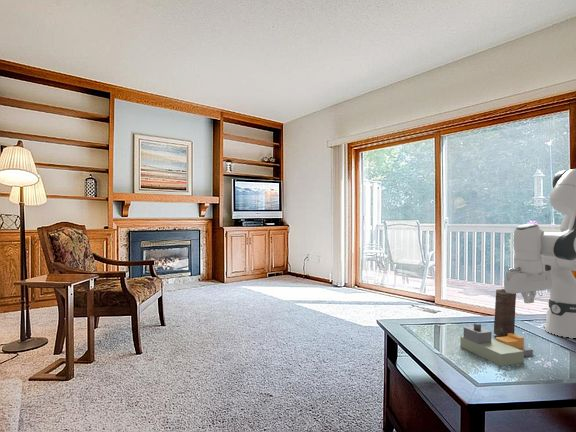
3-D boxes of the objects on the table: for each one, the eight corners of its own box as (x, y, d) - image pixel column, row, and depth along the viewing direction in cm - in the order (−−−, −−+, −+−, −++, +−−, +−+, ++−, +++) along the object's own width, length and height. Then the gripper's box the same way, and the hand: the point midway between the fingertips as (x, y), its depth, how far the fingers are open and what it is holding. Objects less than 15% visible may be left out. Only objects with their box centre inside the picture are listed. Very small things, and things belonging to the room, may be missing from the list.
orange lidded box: (511, 348, 133) (511, 333, 134) (523, 353, 129) (523, 337, 129) (495, 350, 131) (495, 334, 131) (506, 355, 126) (506, 339, 126)
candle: (517, 341, 141) (519, 292, 141) (497, 339, 143) (499, 291, 142) (509, 334, 149) (511, 288, 148) (490, 333, 150) (492, 287, 149)
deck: (500, 342, 140) (501, 317, 140) (545, 359, 123) (545, 331, 123) (460, 346, 134) (460, 320, 134) (500, 366, 117) (501, 336, 117)
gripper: (514, 270, 127) (515, 307, 127) (555, 265, 132) (557, 301, 132) (499, 267, 133) (500, 303, 133) (539, 263, 138) (540, 298, 138)
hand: (529, 302), depth 133 cm, fingers closed
